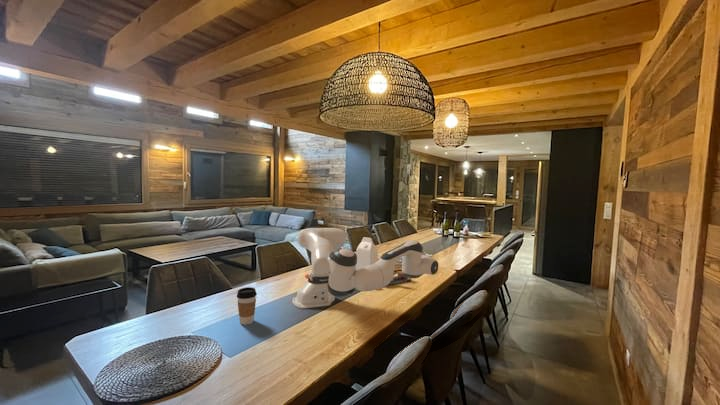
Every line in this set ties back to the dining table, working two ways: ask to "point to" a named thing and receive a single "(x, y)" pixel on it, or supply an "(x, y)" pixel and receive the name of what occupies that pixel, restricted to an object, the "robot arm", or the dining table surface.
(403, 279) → the rail
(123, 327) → the dining table surface
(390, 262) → the robot arm
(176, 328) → the dining table surface
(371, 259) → the milk
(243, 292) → the coffee cup
